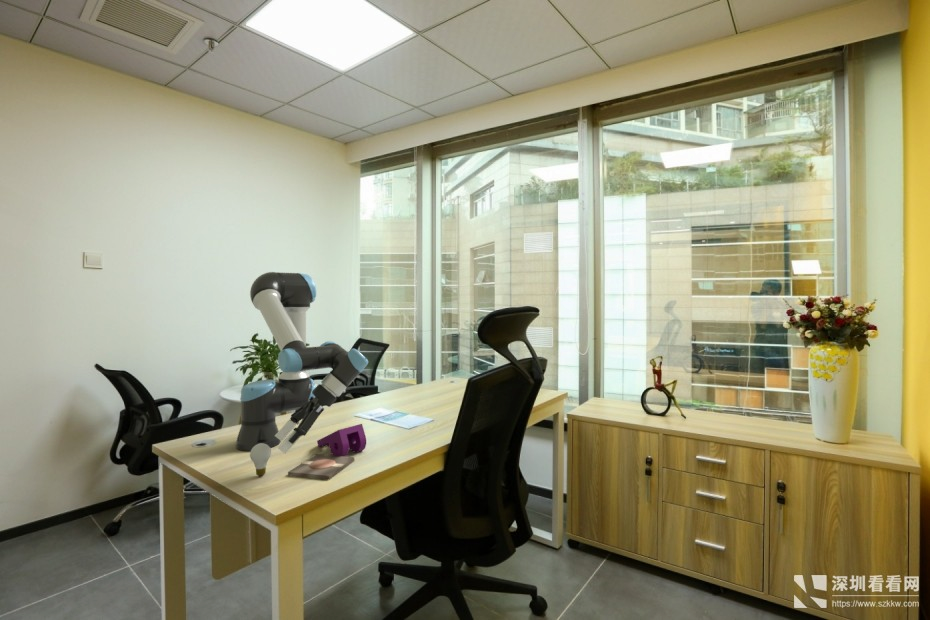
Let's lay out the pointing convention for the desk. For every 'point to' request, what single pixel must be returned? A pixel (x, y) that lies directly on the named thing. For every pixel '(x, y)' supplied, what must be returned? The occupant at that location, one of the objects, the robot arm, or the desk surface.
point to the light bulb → (260, 457)
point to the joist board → (321, 466)
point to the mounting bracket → (345, 440)
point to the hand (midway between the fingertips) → (279, 444)
